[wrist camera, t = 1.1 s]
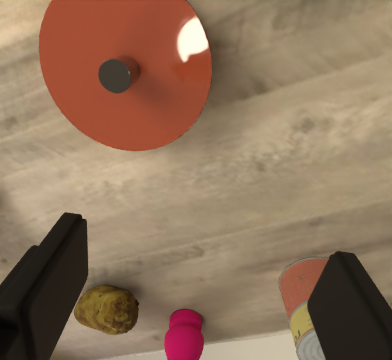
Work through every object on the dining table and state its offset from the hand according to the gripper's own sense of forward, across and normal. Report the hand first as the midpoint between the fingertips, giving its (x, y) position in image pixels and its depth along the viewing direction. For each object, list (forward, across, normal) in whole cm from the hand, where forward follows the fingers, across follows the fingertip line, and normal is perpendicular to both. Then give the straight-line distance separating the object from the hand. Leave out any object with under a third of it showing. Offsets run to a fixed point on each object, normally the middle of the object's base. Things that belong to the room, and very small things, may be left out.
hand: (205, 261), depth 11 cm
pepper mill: (+29, -4, +43) cm, 52 cm away
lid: (+23, +9, -3) cm, 25 cm away
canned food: (+28, -24, +28) cm, 46 cm away
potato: (+29, +11, +38) cm, 49 cm away
